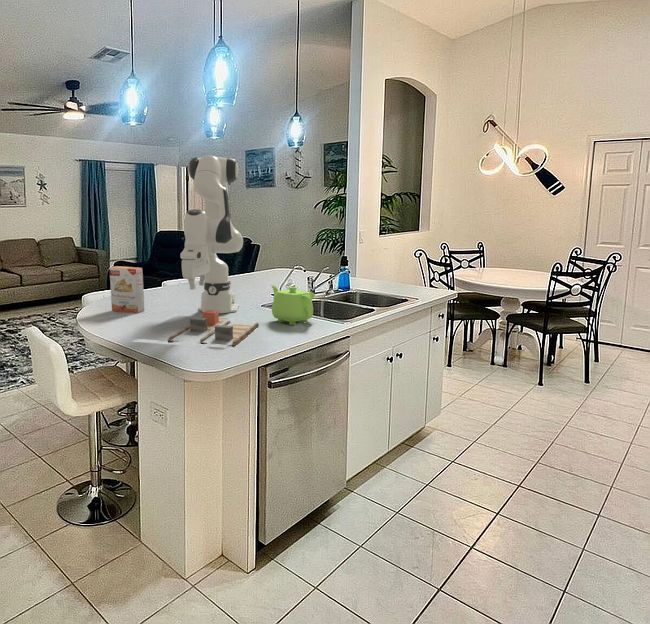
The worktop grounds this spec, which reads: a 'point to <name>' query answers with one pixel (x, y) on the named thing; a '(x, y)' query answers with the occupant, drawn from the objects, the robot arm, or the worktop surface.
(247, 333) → the lane rails
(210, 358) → the worktop surface
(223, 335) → the strip
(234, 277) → the worktop surface
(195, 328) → the strip
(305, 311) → the teapot
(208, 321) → the cube
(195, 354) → the worktop surface
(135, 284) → the cracker box
